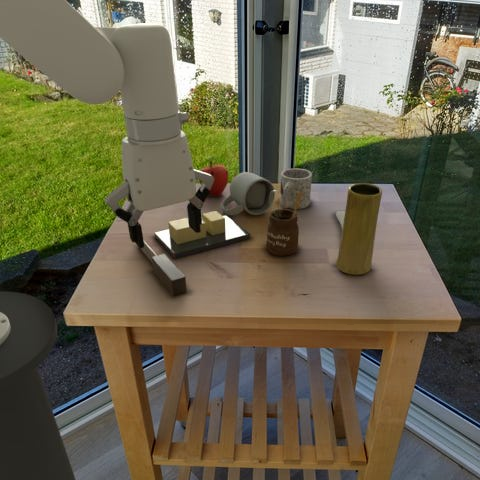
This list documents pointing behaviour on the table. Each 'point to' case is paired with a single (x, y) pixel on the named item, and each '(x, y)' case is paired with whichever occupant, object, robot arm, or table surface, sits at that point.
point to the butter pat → (214, 222)
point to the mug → (295, 187)
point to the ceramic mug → (249, 194)
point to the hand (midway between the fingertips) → (167, 237)
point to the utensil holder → (283, 229)
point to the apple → (216, 177)
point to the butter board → (203, 240)
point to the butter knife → (340, 217)
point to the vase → (359, 229)
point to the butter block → (185, 231)
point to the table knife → (166, 271)
